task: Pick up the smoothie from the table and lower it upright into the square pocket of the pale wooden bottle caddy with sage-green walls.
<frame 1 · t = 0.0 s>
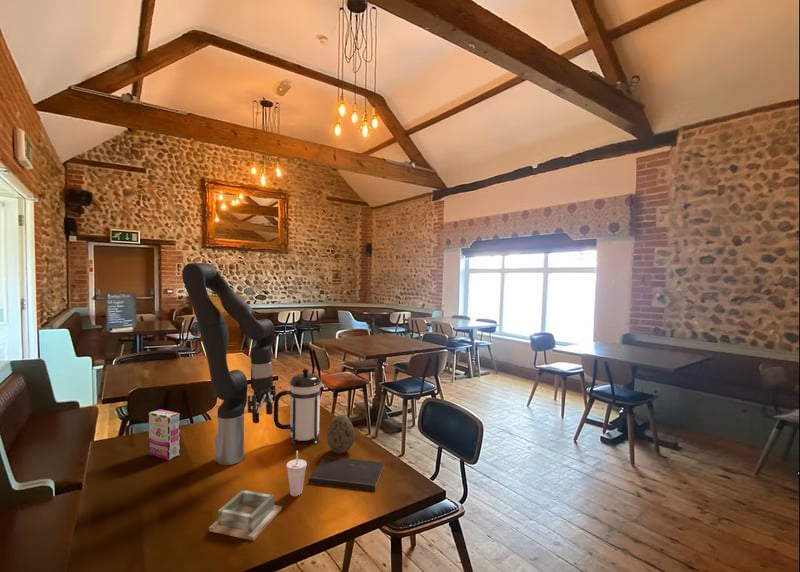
hand: (262, 418, 144), 17 cm above the table, tool pointing down, fingers open, 8 cm apart
smoothie: (296, 493, 128), on the table
candy bar box: (164, 455, 150), on the table
decorative egg: (340, 452, 156), on the table
coffee press: (301, 439, 166), on the table
bottle caddy: (246, 519, 114), on the table
hardcover book: (348, 477, 139), on the table
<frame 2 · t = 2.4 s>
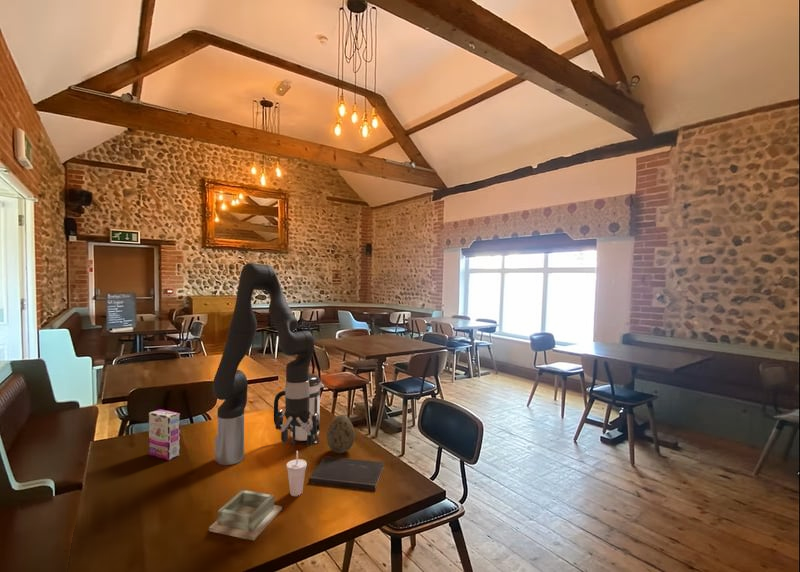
hand: (297, 443, 127), 16 cm above the table, tool pointing down, fingers open, 8 cm apart
nothing on the table moved.
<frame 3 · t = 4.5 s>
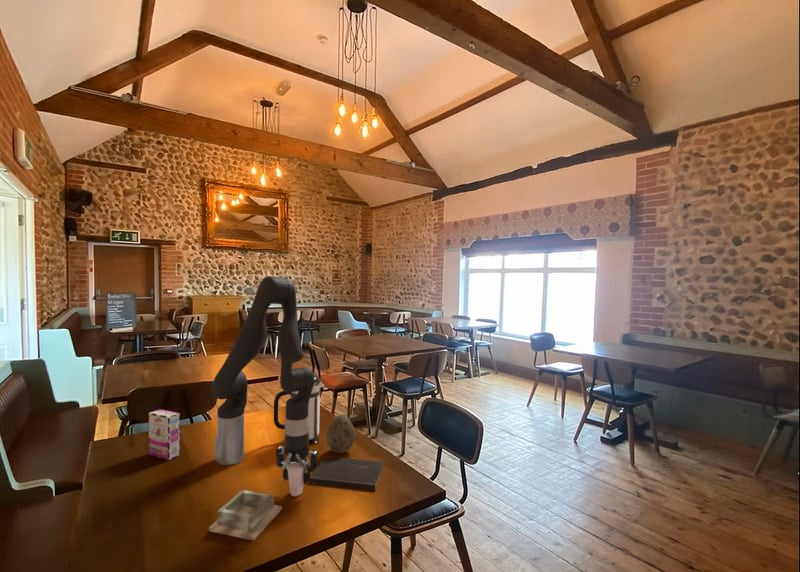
hand: (296, 480, 127), 4 cm above the table, tool pointing down, fingers closed on smoothie, 6 cm apart
smoothie: (296, 493, 128), on the table, touching gripper
everything else where it was.
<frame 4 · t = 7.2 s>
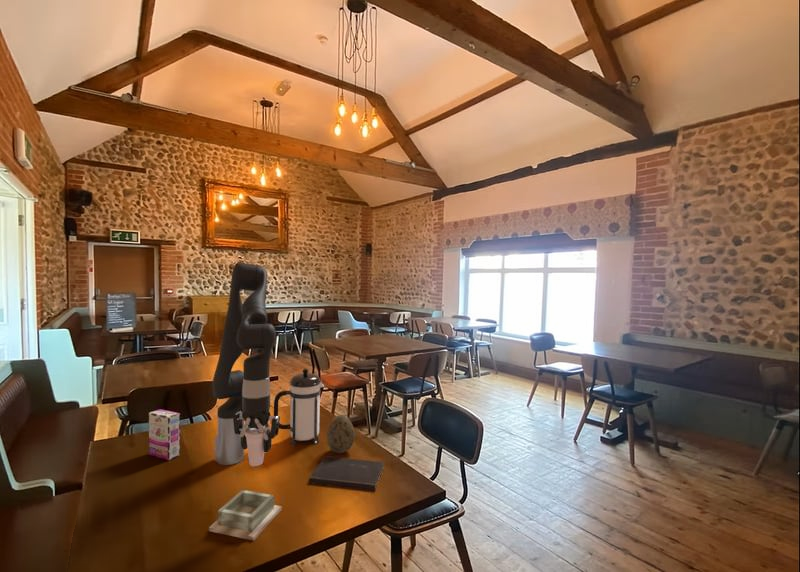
hand: (256, 449, 115), 20 cm above the table, tool pointing down, fingers closed on smoothie, 6 cm apart
smoothie: (256, 463, 115), point 16 cm above the table, touching gripper
everything else where it was.
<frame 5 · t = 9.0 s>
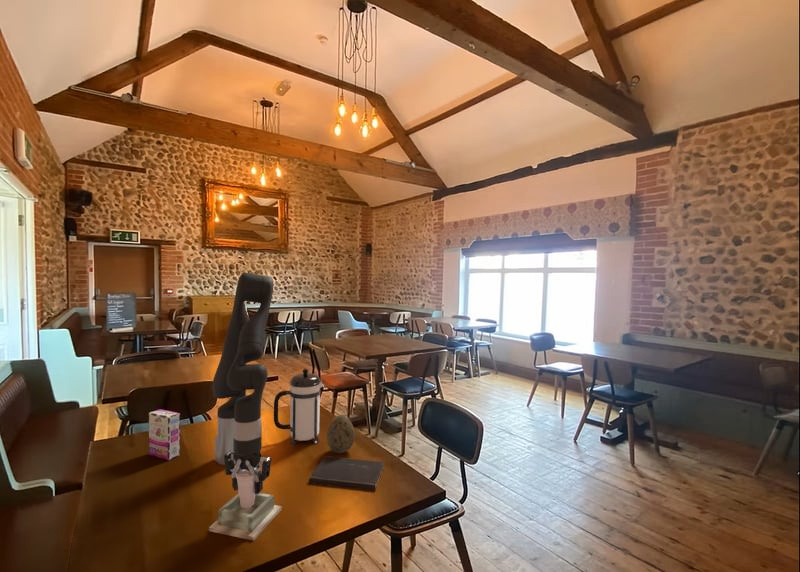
hand: (247, 490, 113), 9 cm above the table, tool pointing down, fingers closed on smoothie, 6 cm apart
smoothie: (247, 504, 113), point 4 cm above the table, touching gripper
everything else where it was.
when the fingers open (6 cm above the table, at t = 10.3 s): smoothie drops 1 cm, resting on bottle caddy.
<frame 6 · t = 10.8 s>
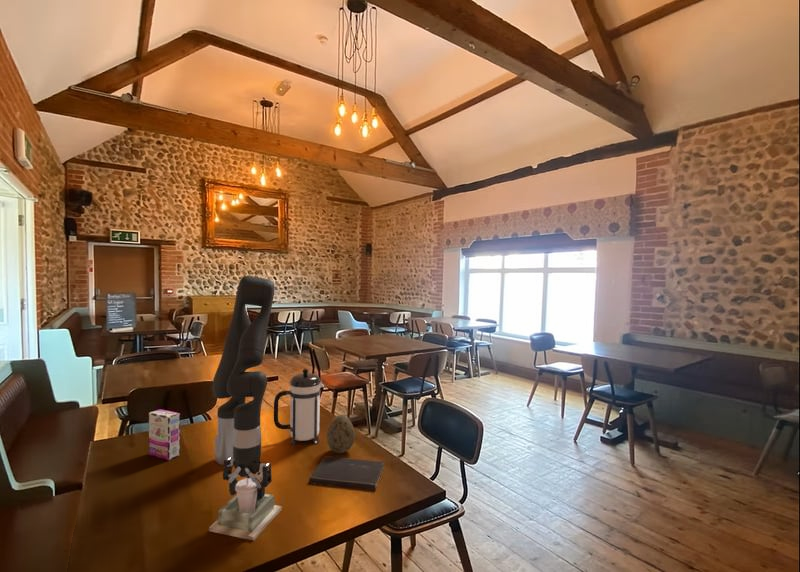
hand: (247, 496, 113), 7 cm above the table, tool pointing down, fingers open, 8 cm apart
smoothie: (247, 516, 114), point 1 cm above the table, touching bottle caddy
everything else where it was.
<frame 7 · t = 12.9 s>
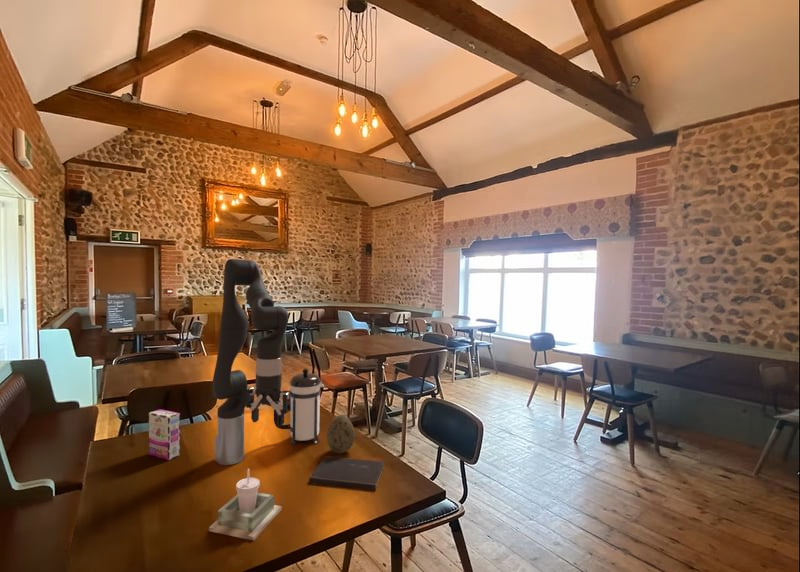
hand: (267, 423, 121), 25 cm above the table, tool pointing down, fingers open, 8 cm apart
nothing on the table moved.
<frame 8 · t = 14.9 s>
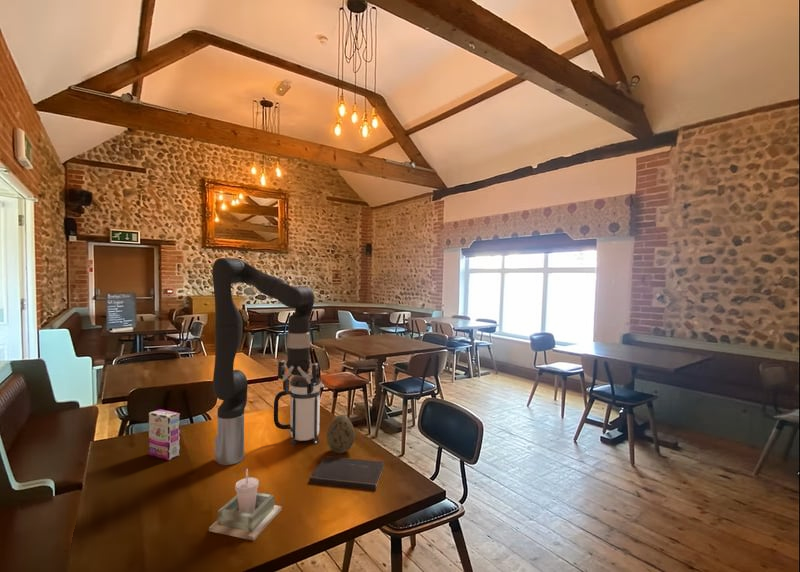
hand: (298, 392, 135), 30 cm above the table, tool pointing down, fingers open, 8 cm apart
nothing on the table moved.
at the end: smoothie 0.1 cm off-centre on the bottle caddy, point 0.8 cm above the bottle caddy's base; smoothie tilted 1°; the gripper is holding nothing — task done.
